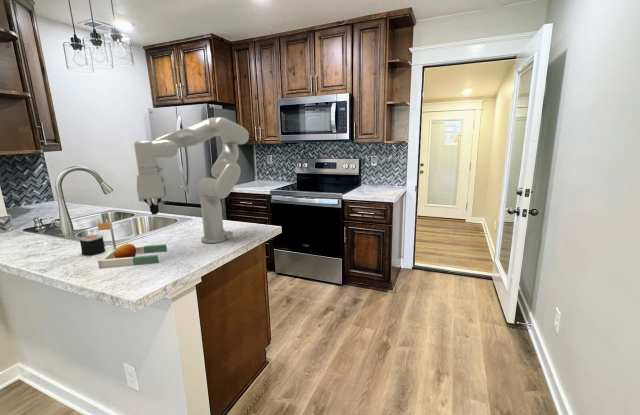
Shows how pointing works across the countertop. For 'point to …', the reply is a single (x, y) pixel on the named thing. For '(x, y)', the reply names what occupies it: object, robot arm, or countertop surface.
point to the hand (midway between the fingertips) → (155, 213)
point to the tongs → (111, 262)
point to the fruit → (125, 251)
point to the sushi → (92, 245)
